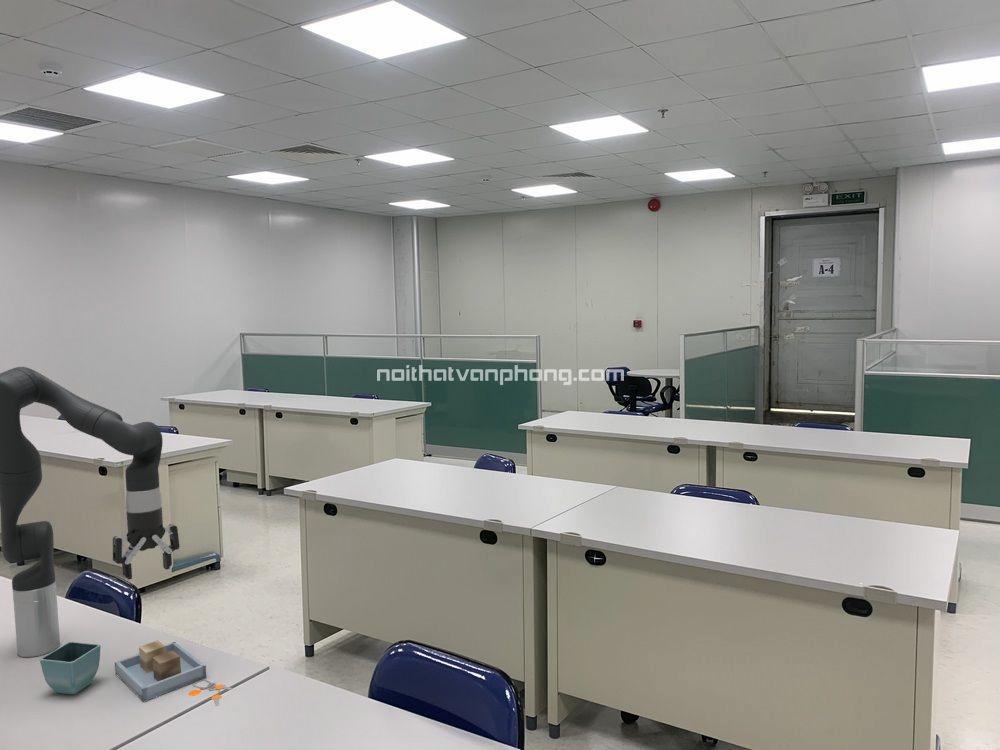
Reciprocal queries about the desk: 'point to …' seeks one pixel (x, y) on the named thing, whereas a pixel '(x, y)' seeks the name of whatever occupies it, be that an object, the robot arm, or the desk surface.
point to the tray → (151, 687)
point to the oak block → (150, 654)
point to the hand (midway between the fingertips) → (148, 573)
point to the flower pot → (71, 666)
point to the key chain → (218, 687)
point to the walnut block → (166, 665)
